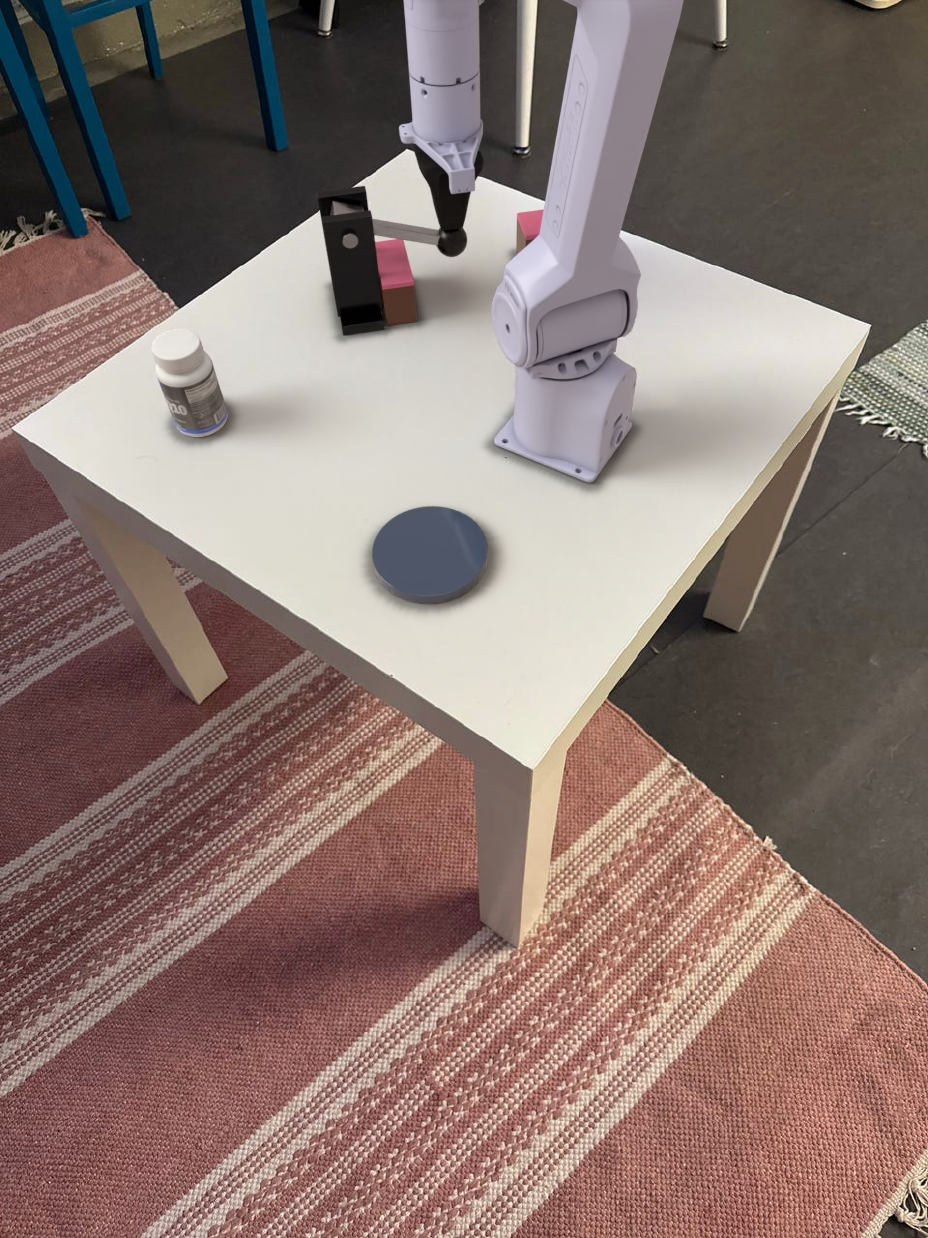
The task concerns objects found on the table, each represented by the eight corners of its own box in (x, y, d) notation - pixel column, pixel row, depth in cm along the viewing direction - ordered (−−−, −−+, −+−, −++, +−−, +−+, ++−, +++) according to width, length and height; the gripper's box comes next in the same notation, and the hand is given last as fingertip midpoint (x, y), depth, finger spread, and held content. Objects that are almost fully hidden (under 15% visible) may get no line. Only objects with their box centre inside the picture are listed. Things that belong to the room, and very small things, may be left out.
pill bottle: (165, 418, 82) (135, 341, 75) (211, 394, 83) (185, 316, 77) (192, 446, 80) (164, 370, 73) (239, 421, 81) (215, 344, 74)
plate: (508, 541, 73) (509, 532, 72) (449, 622, 68) (448, 614, 68) (413, 498, 75) (412, 490, 75) (350, 574, 71) (349, 566, 70)
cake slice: (553, 248, 95) (556, 207, 91) (563, 270, 92) (566, 229, 89) (516, 253, 94) (516, 212, 91) (524, 276, 92) (525, 235, 88)
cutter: (459, 247, 89) (467, 218, 86) (464, 265, 87) (474, 236, 85) (326, 225, 84) (332, 194, 82) (330, 244, 82) (335, 213, 80)
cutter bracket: (375, 279, 93) (362, 176, 84) (386, 329, 88) (374, 225, 79) (332, 285, 92) (314, 182, 83) (341, 335, 88) (323, 232, 79)
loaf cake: (406, 278, 92) (402, 237, 89) (417, 321, 89) (414, 280, 85) (377, 282, 92) (372, 241, 89) (386, 325, 88) (382, 285, 85)
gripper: (382, 34, 77) (397, 188, 89) (408, 120, 69) (420, 277, 80) (464, 25, 78) (468, 178, 89) (500, 108, 70) (499, 266, 81)
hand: (451, 225), depth 85 cm, fingers closed, pressing on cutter
